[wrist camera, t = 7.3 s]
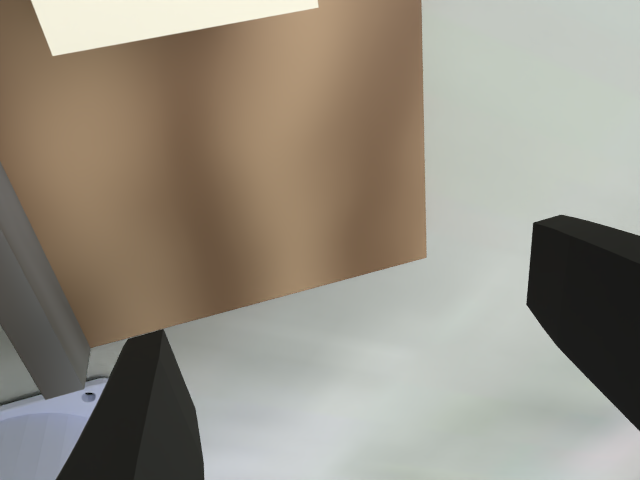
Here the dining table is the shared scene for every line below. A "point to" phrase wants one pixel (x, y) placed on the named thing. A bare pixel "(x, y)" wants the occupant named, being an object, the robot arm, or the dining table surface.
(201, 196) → the shelf board
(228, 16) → the carton
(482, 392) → the dining table surface
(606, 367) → the robot arm
